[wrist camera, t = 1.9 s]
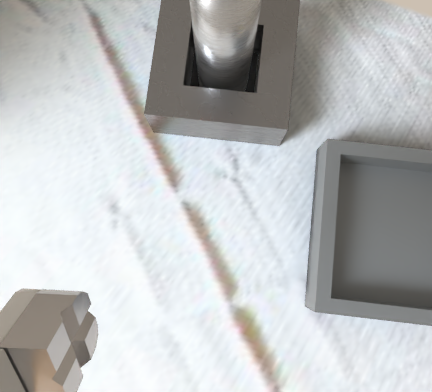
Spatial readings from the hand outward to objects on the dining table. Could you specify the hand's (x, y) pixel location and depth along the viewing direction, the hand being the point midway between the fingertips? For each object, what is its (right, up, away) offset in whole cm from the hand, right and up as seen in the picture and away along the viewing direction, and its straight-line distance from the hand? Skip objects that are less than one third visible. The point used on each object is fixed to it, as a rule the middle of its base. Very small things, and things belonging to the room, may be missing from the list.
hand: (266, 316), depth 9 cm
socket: (0, +12, +23) cm, 26 cm away
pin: (0, +12, +23) cm, 26 cm away
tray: (+12, 0, +21) cm, 24 cm away
